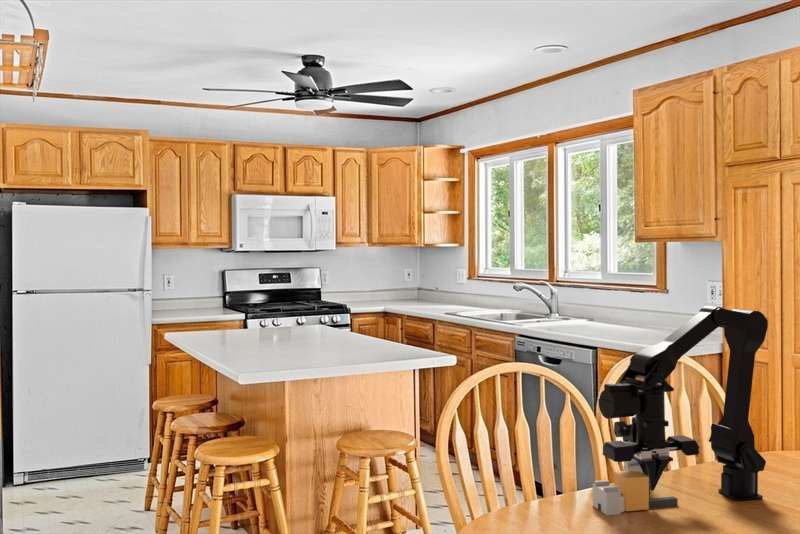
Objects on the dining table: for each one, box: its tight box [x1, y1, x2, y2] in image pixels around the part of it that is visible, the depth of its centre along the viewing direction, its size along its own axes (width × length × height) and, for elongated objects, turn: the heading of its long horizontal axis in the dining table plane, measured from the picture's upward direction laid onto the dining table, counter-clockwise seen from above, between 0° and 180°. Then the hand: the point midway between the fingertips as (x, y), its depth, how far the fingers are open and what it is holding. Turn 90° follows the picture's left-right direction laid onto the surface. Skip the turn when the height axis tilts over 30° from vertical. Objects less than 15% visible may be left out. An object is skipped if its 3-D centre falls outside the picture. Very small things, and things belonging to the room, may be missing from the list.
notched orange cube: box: [613, 470, 650, 512], centre depth 156 cm, size 5×5×7 cm
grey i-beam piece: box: [592, 479, 622, 517], centre depth 155 cm, size 3×6×5 cm, turn 12°
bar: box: [597, 496, 679, 512], centre depth 156 cm, size 17×1×1 cm, turn 102°
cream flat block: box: [621, 495, 625, 513], centre depth 155 cm, size 1×4×3 cm, turn 12°
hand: (651, 490), depth 157 cm, fingers closed
